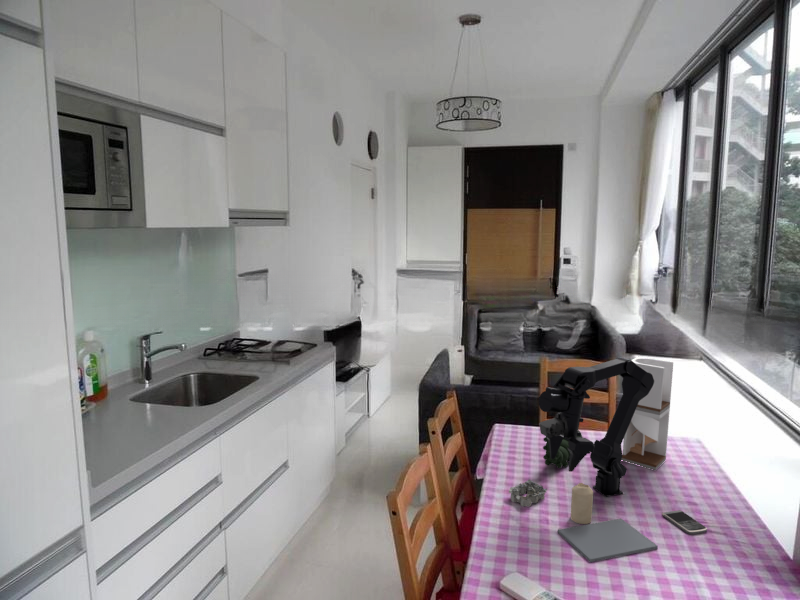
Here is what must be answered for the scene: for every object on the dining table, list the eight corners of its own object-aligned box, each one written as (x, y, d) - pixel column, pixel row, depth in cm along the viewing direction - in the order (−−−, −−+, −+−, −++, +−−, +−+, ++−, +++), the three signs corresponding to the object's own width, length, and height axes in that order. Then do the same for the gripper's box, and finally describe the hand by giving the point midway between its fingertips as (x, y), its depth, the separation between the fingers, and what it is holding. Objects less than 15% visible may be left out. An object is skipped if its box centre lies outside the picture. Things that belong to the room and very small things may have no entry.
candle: (567, 514, 163) (569, 481, 161) (586, 513, 163) (588, 480, 162) (575, 525, 157) (577, 490, 156) (594, 524, 158) (596, 489, 156)
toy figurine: (562, 481, 187) (589, 450, 206) (563, 427, 183) (590, 400, 202) (535, 473, 192) (563, 444, 212) (535, 420, 188) (564, 395, 208)
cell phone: (689, 537, 153) (689, 532, 152) (660, 516, 163) (660, 511, 163) (708, 533, 154) (709, 529, 154) (678, 513, 165) (679, 508, 165)
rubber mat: (620, 521, 159) (620, 518, 159) (657, 548, 146) (657, 545, 146) (557, 532, 153) (557, 529, 153) (590, 562, 140) (590, 559, 140)
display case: (620, 461, 199) (627, 361, 194) (632, 451, 207) (638, 356, 202) (655, 470, 191) (663, 368, 186) (665, 460, 199) (673, 362, 194)
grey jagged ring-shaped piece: (525, 509, 166) (526, 496, 165) (505, 499, 172) (506, 486, 171) (549, 498, 172) (549, 485, 172) (529, 489, 178) (529, 476, 177)
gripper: (529, 401, 172) (520, 451, 173) (565, 420, 154) (555, 477, 155) (561, 403, 175) (552, 453, 177) (600, 423, 158) (590, 478, 159)
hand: (561, 464), depth 167 cm, fingers open, 9 cm apart
